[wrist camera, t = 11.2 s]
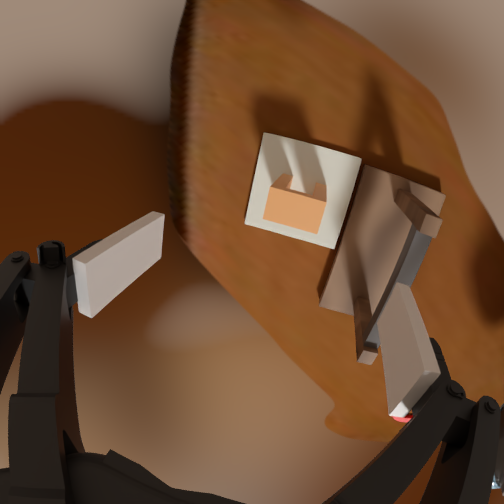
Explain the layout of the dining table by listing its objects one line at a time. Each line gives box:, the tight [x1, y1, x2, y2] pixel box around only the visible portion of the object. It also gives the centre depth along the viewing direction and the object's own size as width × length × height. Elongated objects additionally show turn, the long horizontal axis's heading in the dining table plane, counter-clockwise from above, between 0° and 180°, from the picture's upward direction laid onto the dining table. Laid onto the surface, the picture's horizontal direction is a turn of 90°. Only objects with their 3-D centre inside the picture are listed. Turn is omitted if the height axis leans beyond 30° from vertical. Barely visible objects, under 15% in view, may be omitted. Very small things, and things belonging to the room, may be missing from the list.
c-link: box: [263, 174, 327, 234], centre depth 29 cm, size 5×3×8 cm, turn 79°
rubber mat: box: [245, 132, 362, 249], centre depth 33 cm, size 11×11×1 cm
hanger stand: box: [319, 164, 446, 365], centre depth 29 cm, size 10×18×12 cm, turn 169°
